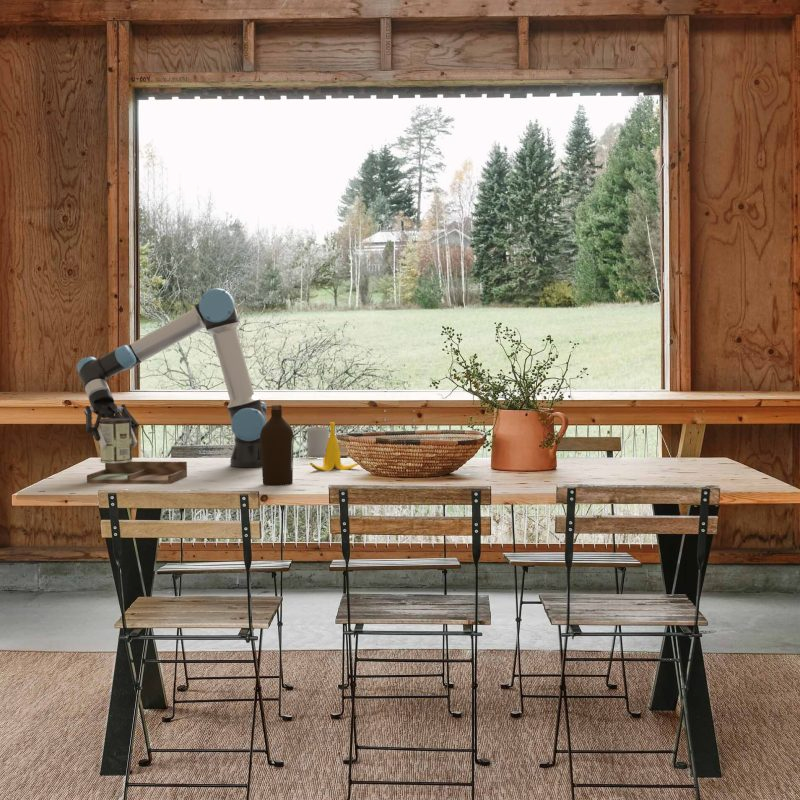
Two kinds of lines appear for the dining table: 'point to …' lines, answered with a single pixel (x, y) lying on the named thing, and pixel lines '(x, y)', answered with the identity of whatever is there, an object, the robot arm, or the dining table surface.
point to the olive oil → (277, 450)
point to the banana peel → (332, 454)
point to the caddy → (140, 472)
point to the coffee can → (116, 440)
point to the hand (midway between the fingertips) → (119, 445)
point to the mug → (317, 441)
